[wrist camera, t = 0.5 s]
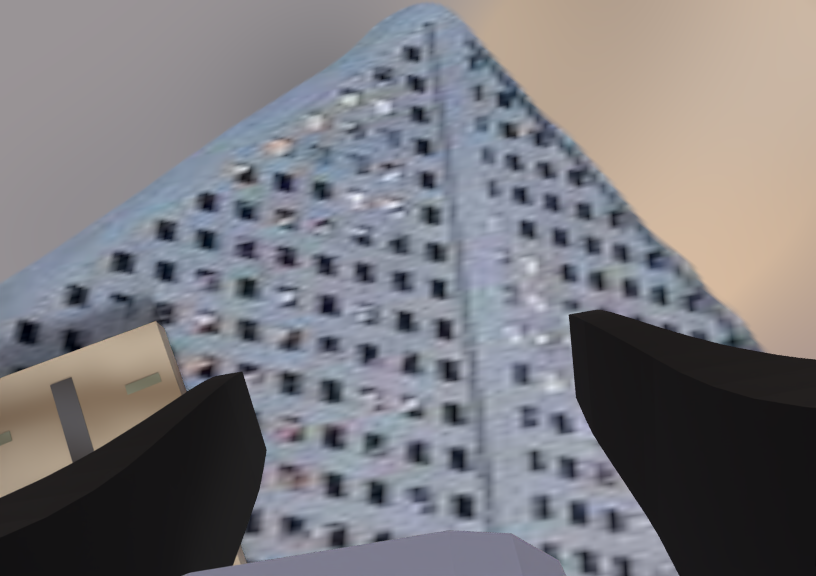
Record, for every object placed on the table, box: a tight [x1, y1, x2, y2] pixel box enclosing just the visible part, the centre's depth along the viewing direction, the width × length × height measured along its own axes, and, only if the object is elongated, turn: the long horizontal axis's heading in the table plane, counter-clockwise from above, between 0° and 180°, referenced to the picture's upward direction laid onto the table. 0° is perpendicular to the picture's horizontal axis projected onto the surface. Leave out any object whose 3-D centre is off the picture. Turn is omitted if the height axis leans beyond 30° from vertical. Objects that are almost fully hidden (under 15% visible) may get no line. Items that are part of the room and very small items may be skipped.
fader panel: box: [0, 321, 247, 566], centre depth 31 cm, size 22×12×2 cm, turn 25°
